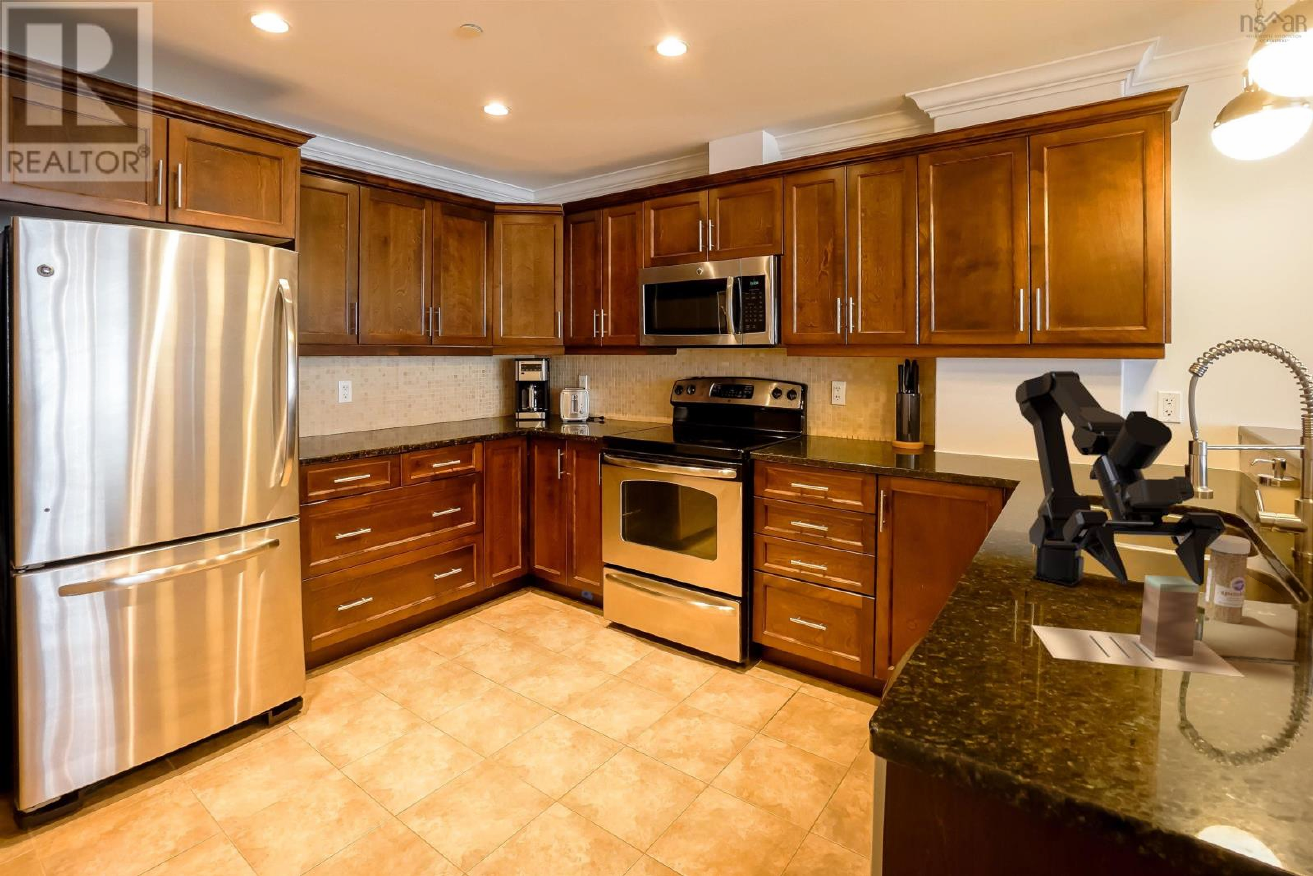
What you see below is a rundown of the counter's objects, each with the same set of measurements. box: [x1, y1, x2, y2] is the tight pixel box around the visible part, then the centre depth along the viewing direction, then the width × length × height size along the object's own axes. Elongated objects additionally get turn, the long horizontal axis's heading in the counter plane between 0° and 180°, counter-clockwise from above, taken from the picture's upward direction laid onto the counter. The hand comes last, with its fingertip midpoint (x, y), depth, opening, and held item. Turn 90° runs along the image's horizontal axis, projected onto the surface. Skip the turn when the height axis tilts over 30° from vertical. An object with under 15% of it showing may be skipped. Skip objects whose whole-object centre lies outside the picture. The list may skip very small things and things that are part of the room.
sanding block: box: [1139, 574, 1200, 659], centre depth 87 cm, size 4×4×10 cm
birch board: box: [1031, 624, 1247, 678], centre depth 89 cm, size 21×11×1 cm, turn 74°
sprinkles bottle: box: [1204, 534, 1251, 625], centre depth 99 cm, size 5×5×14 cm
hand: (1162, 583), depth 89 cm, fingers open, 9 cm apart
